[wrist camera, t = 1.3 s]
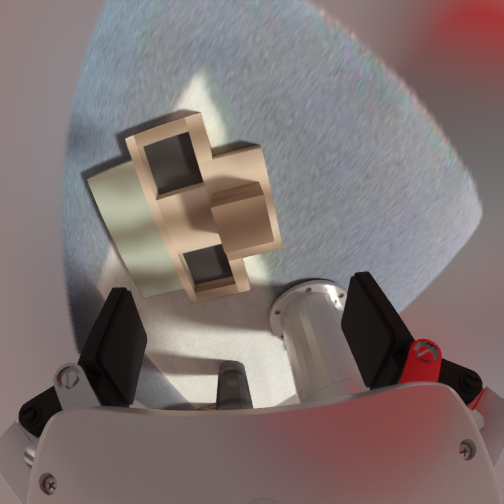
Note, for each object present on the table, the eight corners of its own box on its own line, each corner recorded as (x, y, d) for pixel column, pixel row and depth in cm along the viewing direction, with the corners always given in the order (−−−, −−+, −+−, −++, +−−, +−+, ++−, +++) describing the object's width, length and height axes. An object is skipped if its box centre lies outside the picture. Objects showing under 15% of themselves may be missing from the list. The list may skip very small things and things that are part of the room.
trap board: (285, 272, 37) (288, 281, 35) (153, 301, 38) (151, 311, 36) (248, 100, 25) (250, 100, 24) (87, 155, 26) (79, 159, 24)
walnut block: (268, 224, 31) (274, 241, 27) (224, 234, 31) (224, 253, 28) (259, 181, 28) (264, 194, 25) (212, 193, 28) (210, 208, 25)
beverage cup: (227, 350, 44) (234, 463, 27) (260, 364, 47) (275, 467, 30) (203, 370, 47) (203, 472, 30) (235, 382, 50) (243, 477, 33)
